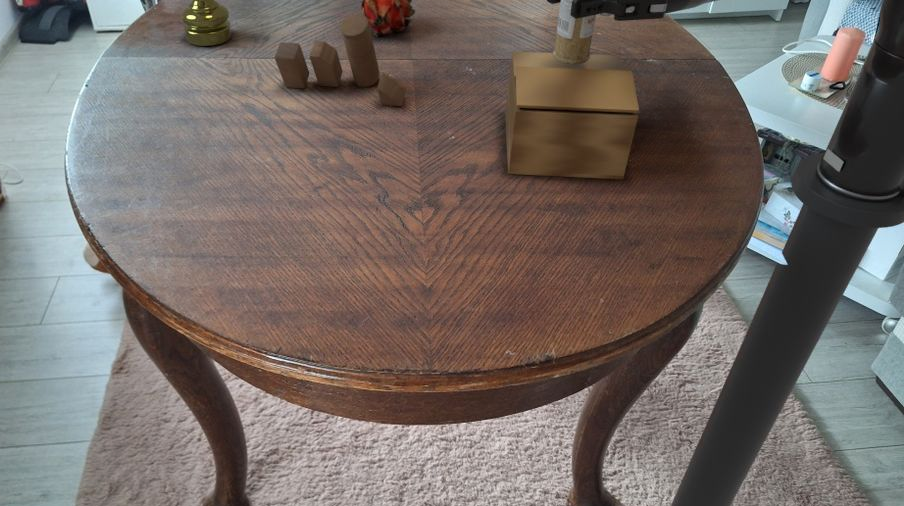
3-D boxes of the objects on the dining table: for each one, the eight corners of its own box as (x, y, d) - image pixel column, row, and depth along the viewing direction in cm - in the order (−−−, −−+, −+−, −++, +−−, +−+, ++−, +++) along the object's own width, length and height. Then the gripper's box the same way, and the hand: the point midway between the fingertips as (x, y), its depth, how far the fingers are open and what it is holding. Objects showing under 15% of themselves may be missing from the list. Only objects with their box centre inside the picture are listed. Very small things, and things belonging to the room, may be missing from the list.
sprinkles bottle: (593, 65, 90) (614, -50, 81) (556, 66, 90) (573, -49, 81) (583, 49, 93) (602, -63, 85) (548, 50, 93) (563, -62, 84)
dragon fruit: (400, 24, 130) (384, 62, 123) (361, -6, 127) (342, 30, 120) (428, -10, 124) (413, 27, 117) (387, -43, 122) (370, -7, 114)
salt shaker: (180, 34, 122) (167, -28, 116) (222, 26, 125) (213, -35, 119) (194, 50, 117) (182, -14, 111) (238, 41, 120) (229, -22, 114)
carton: (607, 120, 101) (620, 55, 95) (623, 179, 90) (639, 110, 84) (505, 115, 102) (512, 51, 96) (508, 174, 91) (516, 105, 85)
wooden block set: (284, 104, 109) (264, 54, 100) (300, 60, 112) (282, 7, 103) (403, 114, 105) (393, 63, 96) (415, 68, 109) (406, 15, 100)
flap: (631, 73, 89) (632, 70, 88) (638, 113, 84) (639, 110, 84) (515, 68, 89) (515, 66, 89) (516, 107, 85) (516, 104, 85)
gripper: (645, -69, 94) (530, -51, 88) (726, -35, 84) (604, -11, 78) (632, -10, 99) (524, 12, 93) (708, 30, 89) (592, 56, 83)
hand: (561, 1), depth 86 cm, fingers closed on sprinkles bottle, 4 cm apart
